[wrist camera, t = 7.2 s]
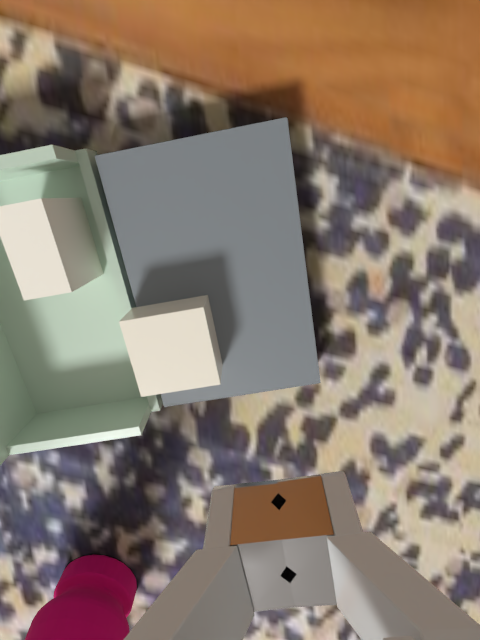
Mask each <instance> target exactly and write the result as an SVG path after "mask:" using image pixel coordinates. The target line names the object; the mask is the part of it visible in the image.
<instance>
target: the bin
mask: <svg viewBox="0 0 480 640" xmlns="http://www.w3.org/2000/svg"><path fill="white" fill-rule="evenodd" d="M96 155H97V151H93V150H90V149H87V148H85V149H81V150H76V151H75V150H71V149H67V148H63V147H59V146H56V145H48V146H43V147H38V148H33V149H28V150H23V151H19V152H14V153H9V154H4V155H0V206H4V205H9V204H15V203H20V202H25V201H30V200H36V199H41V198H81V199H82V202H83V206H84V209H85V212H86V216H87V219H88V223H89V226H90V229H91V233H92V236H93V240H94V243H95V246H96V250H97V253H98V257H99V260H100V263H101V267H102V270H103V275H101V276H99V277H98V278H96V279H94V280H92V281H91V282H89V283H87V284H85V285H84V286H82V287H80V288H78V289H77V290H75V291H73V292H70V293H64V294H59V295H53V296H47V297H41V298H36V299H30V300H24V299H23V297H22V294H21V291H20V288H19V286H18V283H17V280H16V278H15V275H14V272H13V270H12V267H11V264H10V261H9V259H8V256H7V253H6V251H5V248H4V245H3V242H2V240H1V237H0V465H1V464H2V463H3V462H4V460H5V459H6V458H7V457H8V456H9V455H13V454H20V453H27V452H33V451H40V450H47V449H53V448H60V447H66V446H73V445H80V444H86V443H93V442H100V441H106V440H113V439H120V438H126V437H133V436H139V435H142V433H143V430H144V428H145V426H146V423H147V421H148V419H149V416H150V414H151V412H155V411H160V410H161V407H162V404H163V401H162V398H161V394H157V395H151V396H144V397H141V395H140V391H139V388H138V384H137V381H136V378H135V374H134V371H133V368H132V364H131V361H130V357H129V354H128V351H127V347H126V344H125V341H124V337H123V334H122V330H121V327H120V324H119V321H120V320H121V319H122V318H123V317H124V316H125V315H126V314H127V313H128V312H129V311H130V310H131V309H132V308H135V307H136V304H135V300H134V297H133V293H132V289H131V286H130V282H129V278H128V275H127V271H126V268H125V264H124V260H123V257H122V253H121V250H120V246H119V242H118V239H117V235H116V232H115V228H114V224H113V221H112V217H111V214H110V210H109V206H108V203H107V199H106V195H105V192H104V188H103V185H102V181H101V177H100V174H99V170H98V167H97V163H96V159H95V156H96Z"/></svg>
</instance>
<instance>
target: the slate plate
mask: <svg viewBox="0 0 480 640" xmlns="http://www.w3.org/2000/svg"><path fill="white" fill-rule="evenodd" d="M95 159H96V163H97V167H98V170H99V174H100V177H101V181H102V185H103V188H104V192H105V195H106V199H107V203H108V206H109V210H110V214H111V217H112V221H113V224H114V228H115V232H116V235H117V239H118V242H119V246H120V250H121V253H122V257H123V260H124V264H125V268H126V271H127V275H128V278H129V282H130V286H131V289H132V293H133V297H134V300H135V304H136V307H141V306H146V305H152V304H158V303H164V302H169V301H175V300H181V299H187V298H193V297H198V296H204V295H208V298H209V303H210V307H211V312H212V317H213V321H214V326H215V331H216V336H217V340H218V345H219V350H220V354H221V359H222V364H223V367H222V376H221V384H220V385H214V386H208V387H202V388H195V389H189V390H182V391H176V392H170V393H163V394H161V398H162V401H163V405H164V407H168V406H175V405H181V404H187V403H194V402H200V401H207V400H213V399H220V398H226V397H233V396H239V395H246V394H252V393H258V392H265V391H271V390H278V389H284V388H291V387H297V386H304V385H310V384H317V383H320V375H319V367H318V359H317V351H316V343H315V335H314V327H313V319H312V311H311V303H310V295H309V287H308V279H307V271H306V263H305V255H304V247H303V239H302V231H301V223H300V215H299V207H298V199H297V191H296V183H295V175H294V167H293V159H292V151H291V143H290V135H289V127H288V119H287V117H285V118H280V119H275V120H270V121H265V122H260V123H256V124H251V125H246V126H241V127H236V128H231V129H226V130H221V131H216V132H211V133H206V134H201V135H196V136H191V137H186V138H181V139H176V140H171V141H166V142H161V143H156V144H151V145H146V146H141V147H136V148H131V149H126V150H121V151H116V152H111V153H106V154H101V155H96V156H95Z"/></svg>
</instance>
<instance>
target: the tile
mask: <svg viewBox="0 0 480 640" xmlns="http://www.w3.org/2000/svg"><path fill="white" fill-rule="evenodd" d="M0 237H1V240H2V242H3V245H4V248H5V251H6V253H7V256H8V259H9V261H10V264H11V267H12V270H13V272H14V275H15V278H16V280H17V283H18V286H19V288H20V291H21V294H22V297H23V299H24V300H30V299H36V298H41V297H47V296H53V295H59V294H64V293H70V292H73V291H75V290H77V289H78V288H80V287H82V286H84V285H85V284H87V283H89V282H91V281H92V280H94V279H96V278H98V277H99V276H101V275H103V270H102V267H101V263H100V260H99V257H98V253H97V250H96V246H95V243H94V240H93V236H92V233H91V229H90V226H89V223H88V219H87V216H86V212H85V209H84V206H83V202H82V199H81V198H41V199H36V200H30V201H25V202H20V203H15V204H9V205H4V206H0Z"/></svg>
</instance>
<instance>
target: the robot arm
mask: <svg viewBox="0 0 480 640" xmlns="http://www.w3.org/2000/svg"><path fill="white" fill-rule="evenodd" d="M322 605H337V607H338V609H339V610H340V611H341V613H342V614H343V615H344V617H345V618H346V619H347V621H348V622H349V623H350V625H351V626H352V627H353V629H354V630H355V631H356V633H357V634H358V635H359V637H360V638H361V639H362V640H480V625H479V624H478V623H477V622H476V621H474V620H473V619H472V618H471V617H470V616H469V615H467V614H466V613H465V612H464V611H463V610H462V609H460V608H459V607H458V606H457V605H456V604H455V603H453V602H452V601H451V600H450V599H449V598H448V597H446V596H445V595H444V594H443V593H442V592H440V591H439V590H438V589H437V588H436V587H435V586H433V585H432V584H431V583H430V582H429V581H428V580H426V579H425V578H424V577H423V576H422V575H421V574H419V573H418V572H417V571H416V570H415V569H414V568H412V567H411V566H410V565H409V564H408V563H406V562H405V561H404V560H403V559H402V558H401V557H399V556H398V555H397V554H396V553H395V552H394V551H392V550H391V549H390V548H389V547H388V546H387V545H385V544H384V543H383V542H382V541H381V540H380V539H378V538H377V537H376V536H375V535H374V534H372V533H371V532H364V533H363V530H362V527H361V524H360V520H359V517H358V514H357V511H356V507H355V504H354V501H353V498H352V495H351V491H350V488H349V485H348V482H347V479H346V475H345V473H344V472H343V471H339V472H332V473H325V474H321V475H312V476H304V477H297V478H289V479H281V480H273V481H262V482H252V483H241V484H236V485H225V486H214V488H213V490H212V493H211V500H210V507H209V513H208V520H207V526H206V533H205V540H204V546H203V549H201V550H196V551H195V552H194V554H193V555H192V556H191V557H190V558H189V560H188V561H187V562H186V563H185V565H184V566H183V567H182V568H181V570H180V571H179V572H178V573H177V574H176V576H175V577H174V578H173V579H172V581H171V582H170V583H169V584H168V586H167V587H166V588H165V589H164V590H163V592H162V593H161V594H160V595H159V597H158V598H157V599H156V600H155V602H154V603H153V604H152V605H151V606H150V608H149V609H148V610H147V611H146V613H145V614H144V615H143V616H142V617H141V619H140V620H139V621H138V622H137V624H136V625H135V626H134V627H133V629H132V630H131V631H130V632H129V633H128V635H127V636H126V637H125V638H124V640H243V638H244V636H245V634H246V631H247V629H248V627H249V625H250V623H251V621H252V619H253V617H254V612H257V611H265V610H274V609H282V608H290V607H304V606H322Z"/></svg>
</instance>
